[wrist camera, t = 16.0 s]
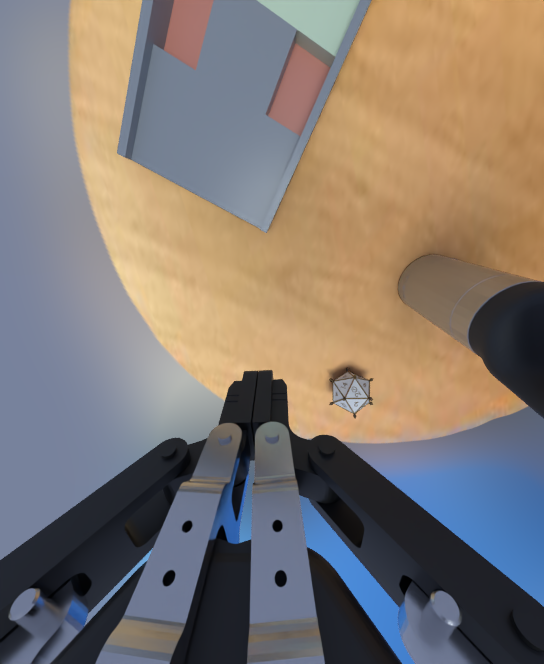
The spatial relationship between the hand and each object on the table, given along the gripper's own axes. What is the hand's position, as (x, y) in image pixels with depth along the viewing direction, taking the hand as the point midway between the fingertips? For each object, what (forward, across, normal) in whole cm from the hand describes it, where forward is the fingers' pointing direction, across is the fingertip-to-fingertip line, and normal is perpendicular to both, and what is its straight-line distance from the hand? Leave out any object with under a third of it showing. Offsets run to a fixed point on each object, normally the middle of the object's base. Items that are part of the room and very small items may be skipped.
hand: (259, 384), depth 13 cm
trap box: (+31, +1, -25) cm, 40 cm away
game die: (+31, -14, +24) cm, 42 cm away
